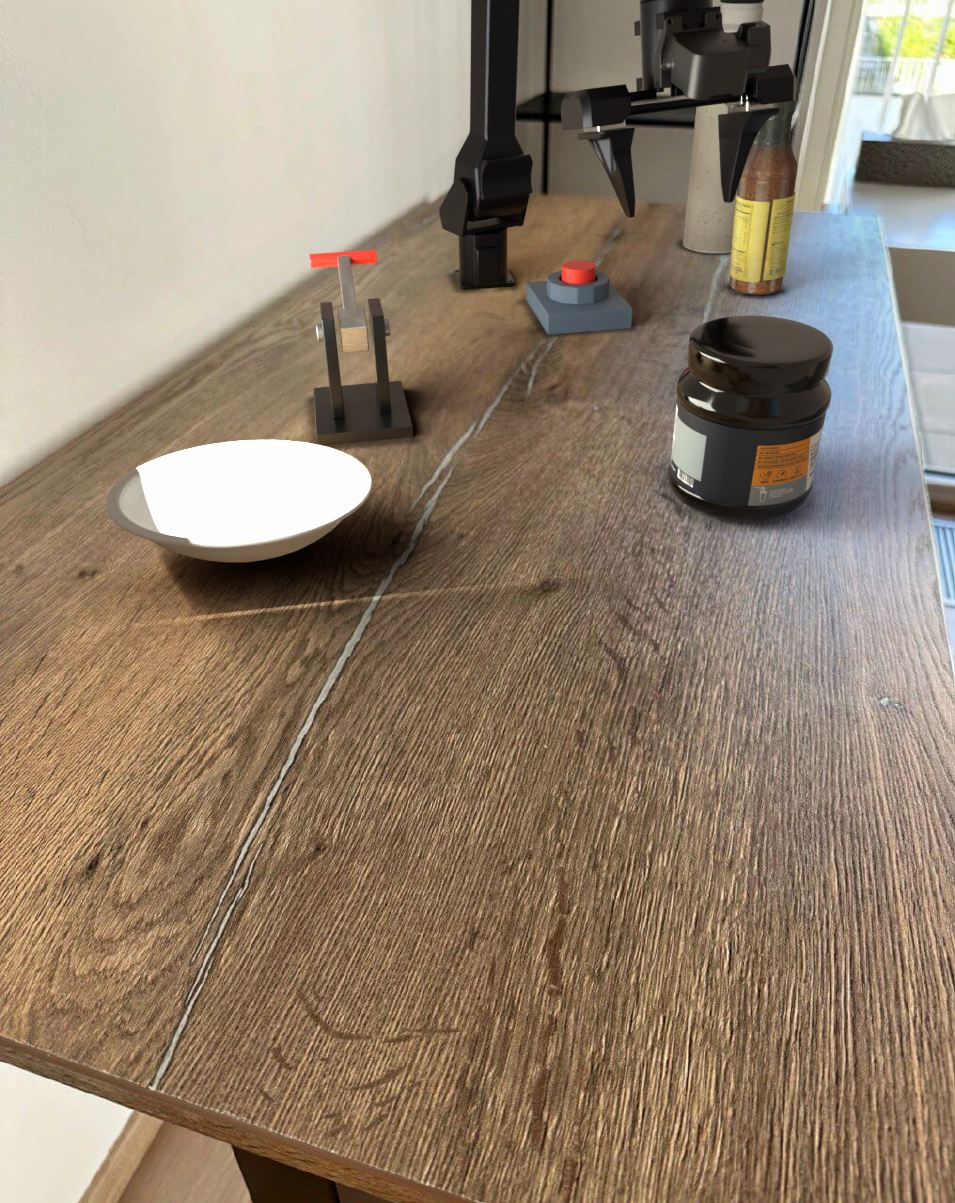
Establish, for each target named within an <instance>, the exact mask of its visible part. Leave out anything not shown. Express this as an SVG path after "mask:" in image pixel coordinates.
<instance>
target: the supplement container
mask: <svg viewBox="0 0 955 1203" xmlns="http://www.w3.org/2000/svg"><path fill="white" fill-rule="evenodd" d="M833 352H834V343H833V341H832V340H831V338H830V337H829V336H828V335H827V334H826V333H824V332H823V331H822V330H820V329H818V328H816V327H814V326H812V325H809V324H806V323H804V322H800V321H797V320H793V319H789V318H788V319H787V318H783V317H775V316H768V315H731V316H724V317H719V318H715V319H712V320H708V321H706V322H703V323H701V324H700V325H698V326H697V327H695V328H694V329H693V330H692V331H691V333H690V335H689V338H688V347H687V356H686V363H687V367H686V368H684V369H683V370H682V372H680V374H679V376H678V379H677V382H676V396H677V398H676V407H675V416H674V426H673V434H672V435H673V436H672V443H671V453H670V462H669V465H668V470H667V474H668V475H667V480H668V483H669V484H668V485H669V487H670V489H671V491H672V492H673V494H674V496H676V498H677V499H679V501H681V502H682V503H683V504H684V505H685V506H687V507H689V508H690V509H692V510H694V511H696V512H698V513H700V514H702V515H706V516H708V517H711V518H715V519H718V520H723V521H727V522H736V523H760V522H761V523H762V522H768V521H772V520H777V519H780V518H784V517H786V516H788V515H791V514H792V513H794V512H796V511H797V510H799V509H800V508H801V507H802V506H804V504H805V503H806V502H807V500H808V499H809V497H810V495H811V492H812V488H813V483H814V479H813V478H814V474H815V469H816V465H817V464H816V463H817V460H818V454H819V449H820V445H821V441H822V440H821V439H822V435H823V431H824V430H823V429H824V425H825V422H826V421H825V420H826V416H827V411H828V409H829V408H830V405H831V401H832V388H831V386H830V385H831V384H830V383H829V382H828V381H827V379H826V377H827V376H828V375H829V372H830V368H831V363H832V357H833Z"/></svg>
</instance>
